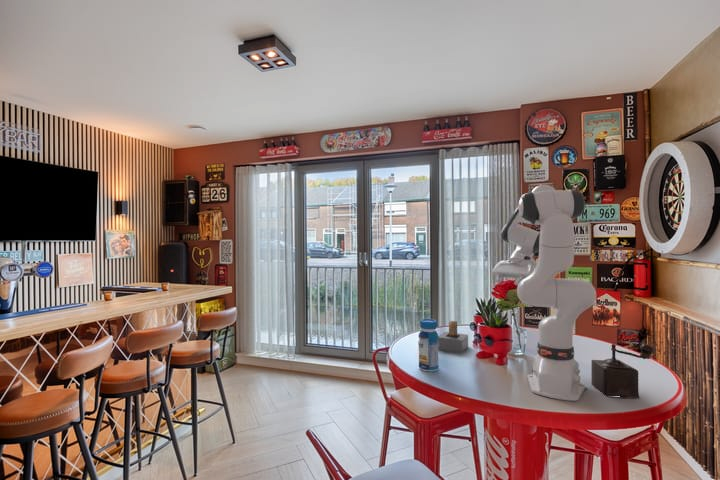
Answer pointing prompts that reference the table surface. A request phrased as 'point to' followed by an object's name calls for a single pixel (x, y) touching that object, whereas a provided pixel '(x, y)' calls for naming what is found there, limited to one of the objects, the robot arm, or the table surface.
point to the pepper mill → (618, 374)
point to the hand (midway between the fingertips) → (506, 283)
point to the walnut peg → (453, 329)
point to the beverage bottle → (428, 345)
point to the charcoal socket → (453, 342)
